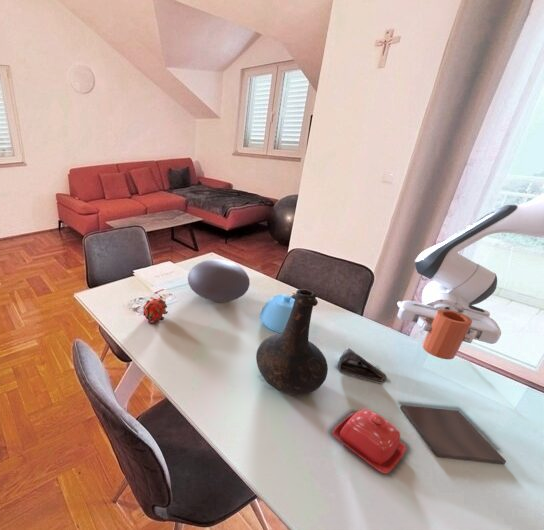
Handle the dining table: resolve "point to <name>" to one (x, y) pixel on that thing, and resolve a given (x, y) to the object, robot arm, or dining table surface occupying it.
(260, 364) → the glass bottle
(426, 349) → the pot
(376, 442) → the butter dish
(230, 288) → the smooth stone
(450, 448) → the plate
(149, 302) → the dragon fruit
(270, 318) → the sugar bowl
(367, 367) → the chocolate cake
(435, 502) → the dining table surface
